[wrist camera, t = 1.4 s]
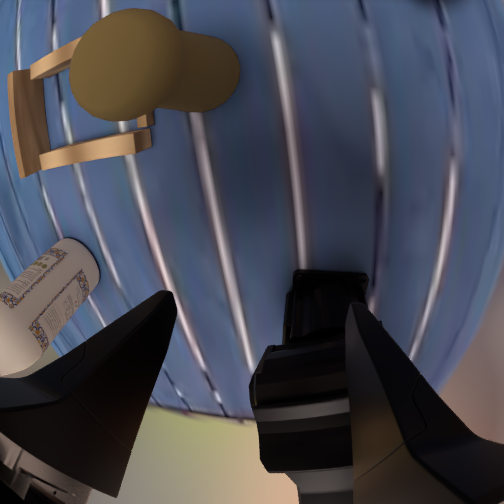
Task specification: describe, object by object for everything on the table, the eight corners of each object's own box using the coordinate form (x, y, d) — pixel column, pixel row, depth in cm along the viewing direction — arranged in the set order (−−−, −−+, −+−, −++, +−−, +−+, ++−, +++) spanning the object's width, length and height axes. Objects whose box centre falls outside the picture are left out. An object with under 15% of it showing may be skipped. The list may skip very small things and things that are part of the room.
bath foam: (51, 254, 28) (-51, 366, 11) (69, 224, 25) (-61, 353, 8) (87, 295, 30) (-2, 418, 14) (110, 271, 28) (1, 421, 11)
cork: (243, 108, 18) (180, 122, 8) (164, 118, 19) (58, 150, 9) (237, 29, 14) (170, -30, 5) (157, 45, 16) (48, 28, 6)
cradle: (148, 22, 14) (119, 12, 11) (156, 145, 20) (129, 157, 16) (36, 71, 17) (7, 75, 13) (47, 165, 22) (20, 178, 19)
